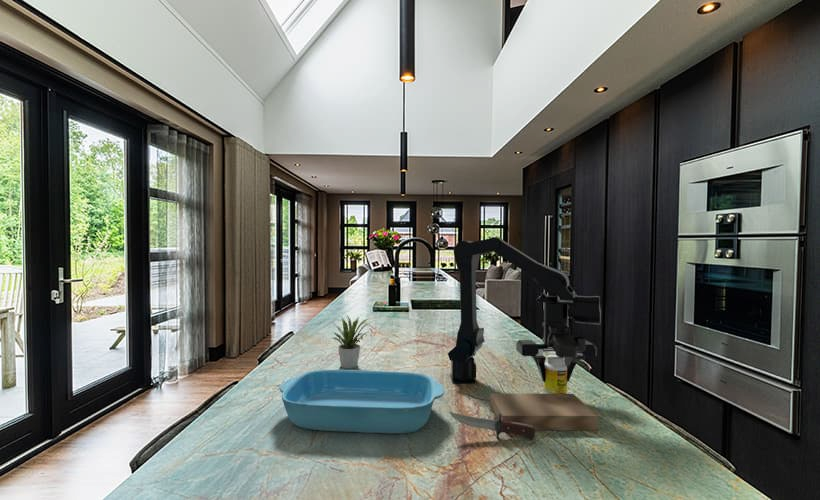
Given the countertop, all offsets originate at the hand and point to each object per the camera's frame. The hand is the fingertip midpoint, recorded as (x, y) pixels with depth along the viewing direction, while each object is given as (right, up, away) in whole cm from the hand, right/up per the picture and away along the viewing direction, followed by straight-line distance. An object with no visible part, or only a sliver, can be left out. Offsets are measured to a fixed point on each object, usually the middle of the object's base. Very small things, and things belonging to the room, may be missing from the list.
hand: (555, 381), depth 97 cm
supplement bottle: (0, -4, 0) cm, 4 cm away
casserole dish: (-48, -4, -11) cm, 49 cm away
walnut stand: (-8, -4, -12) cm, 15 cm away
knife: (-21, -4, -21) cm, 30 cm away
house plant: (-55, -4, +24) cm, 60 cm away
